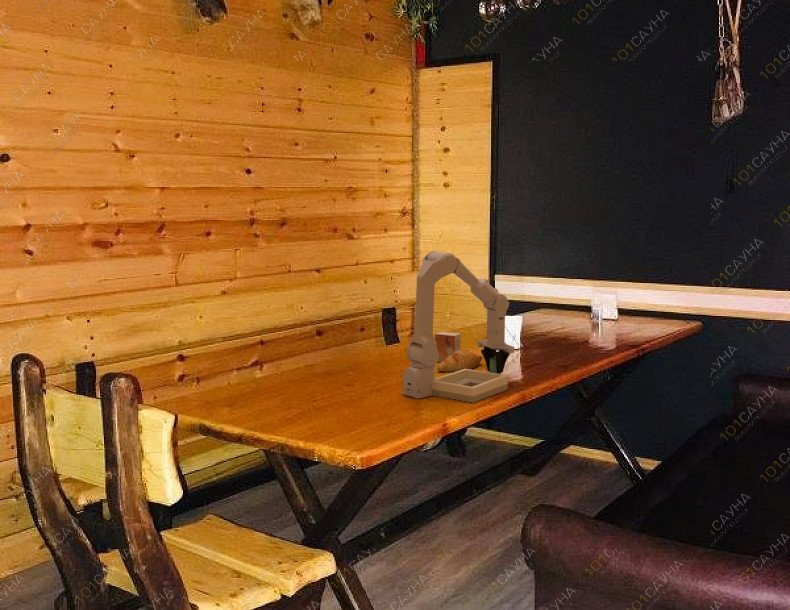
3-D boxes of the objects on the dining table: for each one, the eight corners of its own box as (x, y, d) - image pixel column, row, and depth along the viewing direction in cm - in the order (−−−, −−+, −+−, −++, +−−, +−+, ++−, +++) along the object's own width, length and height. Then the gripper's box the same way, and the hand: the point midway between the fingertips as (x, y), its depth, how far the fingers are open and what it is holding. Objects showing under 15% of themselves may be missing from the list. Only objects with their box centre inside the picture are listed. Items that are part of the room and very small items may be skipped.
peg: (495, 381, 264) (495, 360, 263) (487, 379, 267) (487, 358, 266) (503, 379, 266) (503, 358, 265) (494, 377, 269) (495, 356, 268)
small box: (434, 362, 298) (434, 333, 296) (440, 359, 303) (440, 331, 301) (454, 364, 294) (454, 335, 292) (461, 361, 299) (461, 332, 297)
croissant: (443, 384, 280) (451, 366, 276) (425, 366, 285) (432, 348, 281) (486, 373, 293) (493, 355, 289) (468, 356, 299) (475, 339, 295)
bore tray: (473, 403, 242) (473, 388, 242) (429, 394, 252) (429, 380, 252) (507, 389, 258) (508, 375, 257) (465, 382, 268) (465, 368, 267)
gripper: (521, 331, 261) (520, 373, 263) (488, 326, 272) (487, 366, 274) (506, 334, 257) (505, 377, 259) (473, 328, 268) (472, 369, 270)
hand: (495, 371), depth 266 cm, fingers closed on peg, 4 cm apart
